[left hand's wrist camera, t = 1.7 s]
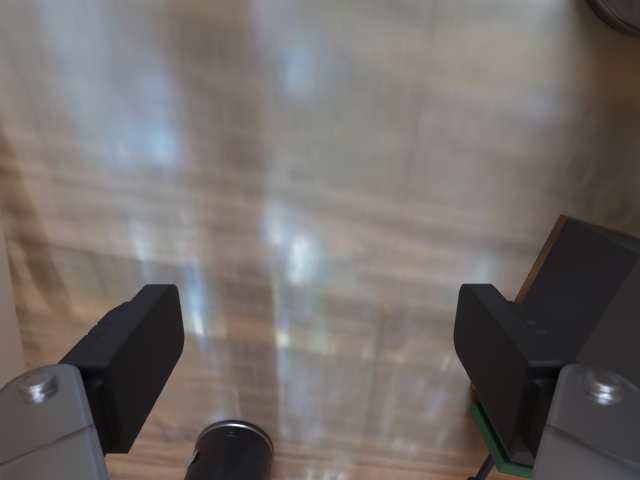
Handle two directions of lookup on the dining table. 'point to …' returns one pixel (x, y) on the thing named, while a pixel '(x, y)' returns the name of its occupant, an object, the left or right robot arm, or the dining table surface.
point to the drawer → (495, 449)
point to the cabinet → (587, 299)
